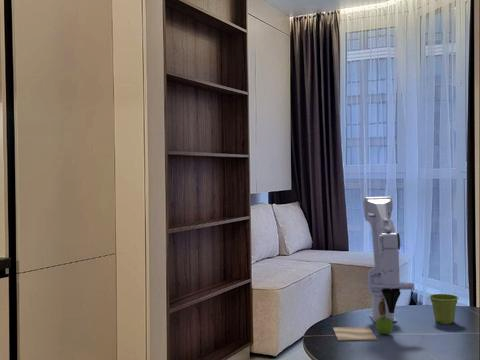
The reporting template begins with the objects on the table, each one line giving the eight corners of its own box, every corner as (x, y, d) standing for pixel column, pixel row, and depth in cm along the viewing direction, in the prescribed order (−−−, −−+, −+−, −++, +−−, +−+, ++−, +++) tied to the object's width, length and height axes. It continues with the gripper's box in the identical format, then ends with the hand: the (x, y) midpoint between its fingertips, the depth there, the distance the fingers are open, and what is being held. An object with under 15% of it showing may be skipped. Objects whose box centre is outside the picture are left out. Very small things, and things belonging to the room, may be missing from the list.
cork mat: (333, 328, 173) (333, 327, 173) (369, 328, 173) (369, 326, 173) (338, 340, 160) (337, 339, 160) (377, 340, 159) (377, 339, 159)
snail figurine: (395, 330, 167) (390, 293, 168) (392, 336, 161) (387, 298, 162) (378, 330, 169) (374, 294, 170) (375, 336, 164) (370, 298, 164)
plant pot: (462, 325, 172) (461, 299, 172) (432, 325, 174) (431, 299, 174) (456, 318, 181) (455, 294, 181) (428, 318, 183) (427, 293, 183)
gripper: (369, 272, 162) (370, 315, 162) (416, 271, 161) (417, 315, 161) (365, 268, 169) (366, 310, 169) (410, 268, 168) (411, 309, 168)
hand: (391, 312), depth 165 cm, fingers closed
